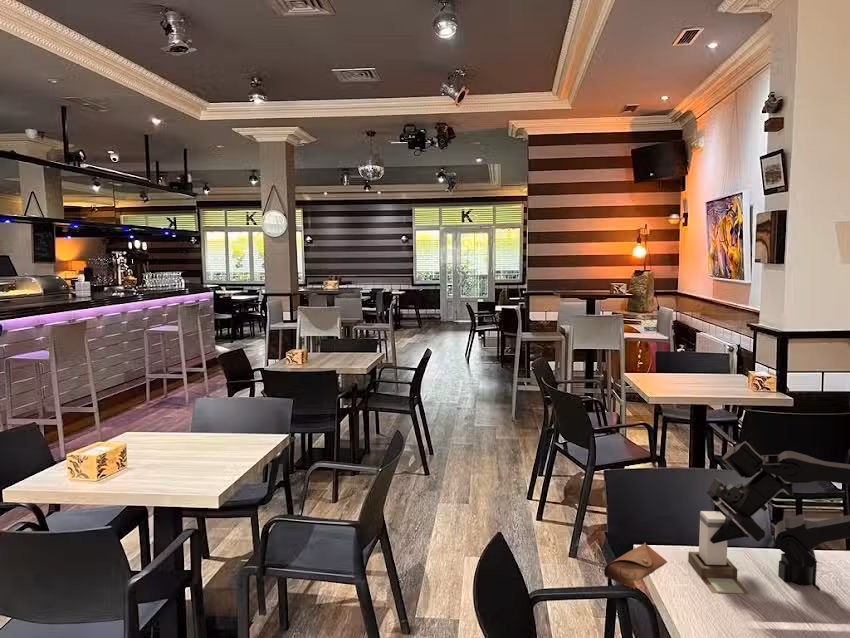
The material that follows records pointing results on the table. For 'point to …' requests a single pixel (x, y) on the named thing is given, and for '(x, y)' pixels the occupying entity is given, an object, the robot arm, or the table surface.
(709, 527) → the cream square block
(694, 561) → the brown wooden tray
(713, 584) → the green mat
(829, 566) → the table surface
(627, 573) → the sunglasses case
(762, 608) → the table surface
